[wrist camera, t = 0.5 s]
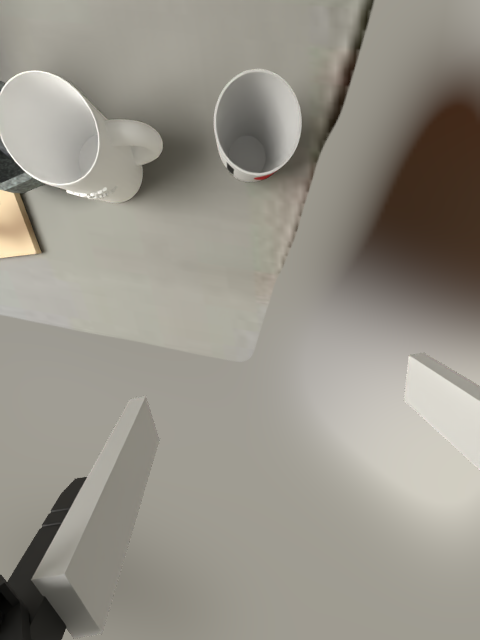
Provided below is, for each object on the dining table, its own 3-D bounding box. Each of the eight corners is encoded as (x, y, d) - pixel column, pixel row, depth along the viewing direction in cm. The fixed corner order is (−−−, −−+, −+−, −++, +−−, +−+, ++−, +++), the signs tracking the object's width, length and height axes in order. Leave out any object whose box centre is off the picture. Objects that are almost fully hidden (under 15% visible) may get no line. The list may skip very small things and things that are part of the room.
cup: (213, 187, 33) (209, 168, 23) (219, 114, 30) (218, 59, 21) (272, 196, 34) (292, 181, 24) (283, 126, 31) (310, 78, 22)
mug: (181, 192, 33) (160, 170, 22) (93, 210, 33) (25, 198, 21) (163, 118, 30) (128, 48, 19) (66, 138, 30) (-27, 79, 19)
